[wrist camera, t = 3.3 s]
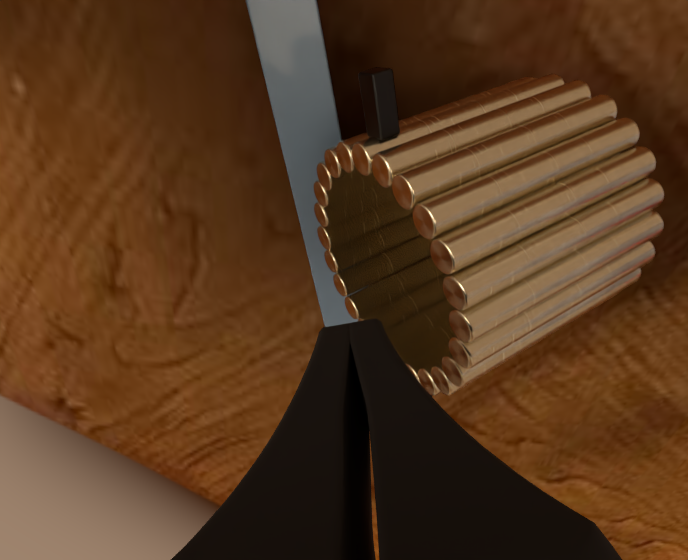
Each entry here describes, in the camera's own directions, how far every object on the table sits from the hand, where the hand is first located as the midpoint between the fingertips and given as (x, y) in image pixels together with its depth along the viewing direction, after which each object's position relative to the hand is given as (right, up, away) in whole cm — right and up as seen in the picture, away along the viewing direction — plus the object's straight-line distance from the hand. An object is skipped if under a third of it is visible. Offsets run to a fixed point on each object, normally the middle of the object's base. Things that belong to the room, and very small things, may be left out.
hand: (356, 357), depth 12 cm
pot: (+3, +6, +9) cm, 11 cm away
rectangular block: (-1, +5, +9) cm, 10 cm away
